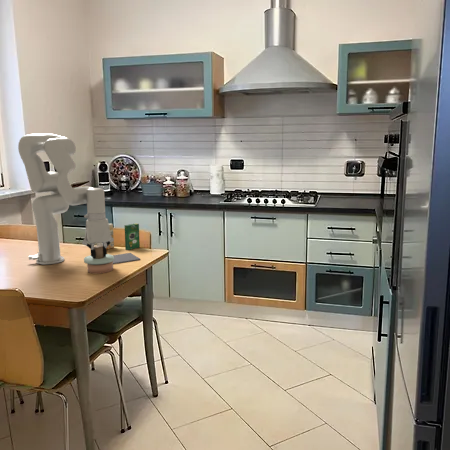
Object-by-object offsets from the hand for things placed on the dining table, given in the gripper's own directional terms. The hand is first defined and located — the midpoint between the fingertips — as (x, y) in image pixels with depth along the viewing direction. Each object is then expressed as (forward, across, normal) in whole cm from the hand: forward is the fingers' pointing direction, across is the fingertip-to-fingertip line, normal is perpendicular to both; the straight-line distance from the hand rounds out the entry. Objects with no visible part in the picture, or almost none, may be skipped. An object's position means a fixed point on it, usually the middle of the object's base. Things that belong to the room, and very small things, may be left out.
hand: (99, 256), depth 210 cm
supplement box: (+7, +14, +38) cm, 41 cm away
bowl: (+6, 0, 0) cm, 6 cm away
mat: (+6, +14, +13) cm, 20 cm away
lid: (+2, 0, 0) cm, 2 cm away
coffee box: (+6, +26, +30) cm, 40 cm away
